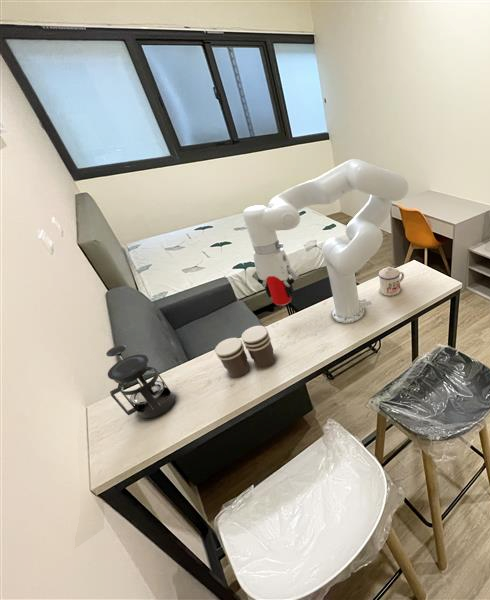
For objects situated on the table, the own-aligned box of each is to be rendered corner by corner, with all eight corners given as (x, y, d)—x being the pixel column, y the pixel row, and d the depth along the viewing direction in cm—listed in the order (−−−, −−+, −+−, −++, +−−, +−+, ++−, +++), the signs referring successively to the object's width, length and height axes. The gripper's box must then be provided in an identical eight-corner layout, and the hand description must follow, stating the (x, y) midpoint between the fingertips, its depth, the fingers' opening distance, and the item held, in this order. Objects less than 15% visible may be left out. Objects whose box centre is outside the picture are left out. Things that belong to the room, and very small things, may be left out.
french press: (173, 387, 101) (135, 331, 88) (182, 403, 96) (144, 346, 82) (129, 411, 94) (81, 354, 81) (136, 430, 89) (86, 372, 76)
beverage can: (291, 305, 110) (283, 275, 103) (272, 308, 109) (263, 278, 102) (292, 296, 115) (284, 266, 108) (275, 298, 114) (265, 269, 107)
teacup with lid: (387, 298, 136) (385, 275, 129) (376, 290, 142) (373, 266, 135) (410, 288, 141) (409, 265, 135) (398, 280, 148) (396, 258, 141)
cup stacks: (275, 350, 113) (265, 322, 106) (279, 364, 107) (268, 336, 100) (226, 366, 107) (212, 338, 100) (227, 382, 102) (212, 353, 95)
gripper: (297, 241, 103) (308, 289, 113) (245, 242, 104) (261, 289, 114) (289, 252, 96) (301, 301, 107) (234, 252, 98) (251, 301, 108)
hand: (280, 294), depth 110 cm, fingers closed on beverage can, 6 cm apart
